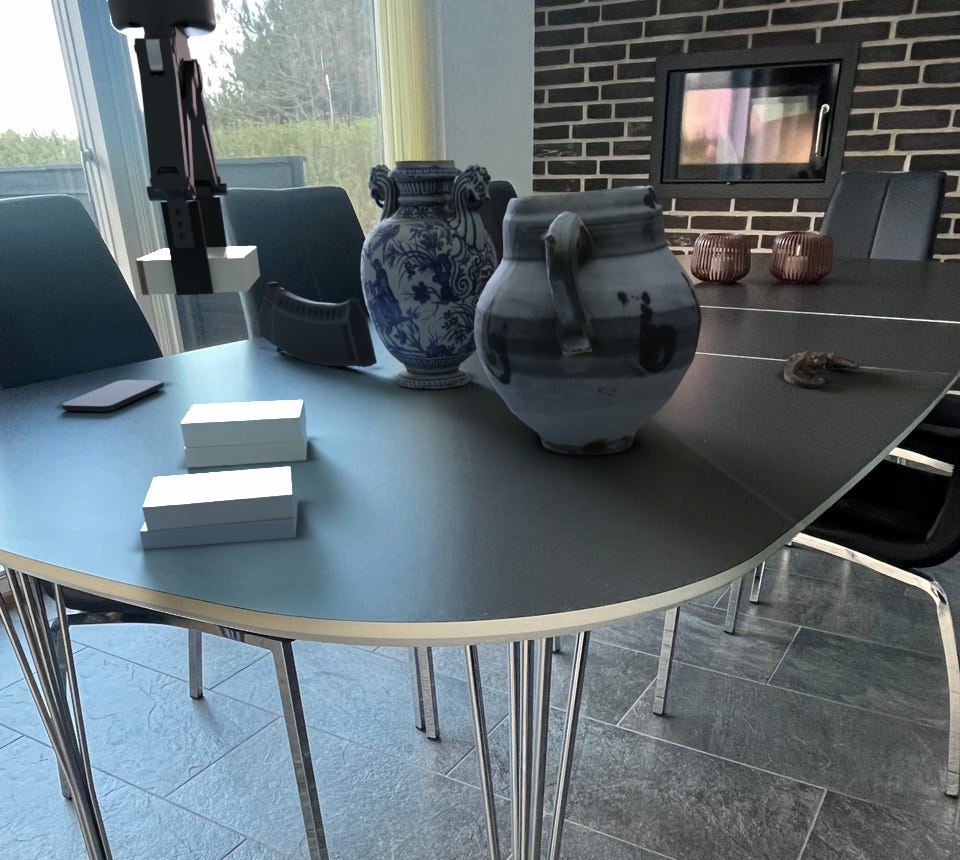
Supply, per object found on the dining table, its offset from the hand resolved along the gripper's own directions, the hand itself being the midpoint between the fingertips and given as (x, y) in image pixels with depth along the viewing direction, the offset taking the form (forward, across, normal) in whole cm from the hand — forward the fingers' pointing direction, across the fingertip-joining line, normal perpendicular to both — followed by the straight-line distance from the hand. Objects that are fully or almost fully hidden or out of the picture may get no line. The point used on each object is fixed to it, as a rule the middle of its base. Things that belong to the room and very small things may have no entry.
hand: (206, 285), depth 73 cm
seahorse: (+19, +37, -77) cm, 87 cm away
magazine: (+19, +66, -5) cm, 69 cm away
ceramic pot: (+19, +9, -35) cm, 41 cm away
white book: (0, 0, 0) cm, 0 cm away
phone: (+18, +45, +21) cm, 53 cm away
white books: (+18, +12, 0) cm, 22 cm away
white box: (+18, -10, 0) cm, 21 cm away
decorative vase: (+19, +46, -23) cm, 54 cm away
